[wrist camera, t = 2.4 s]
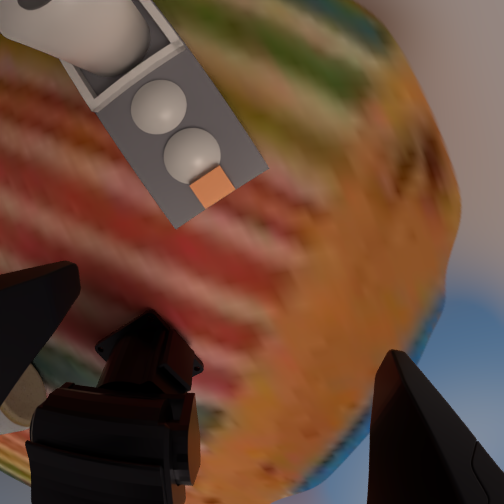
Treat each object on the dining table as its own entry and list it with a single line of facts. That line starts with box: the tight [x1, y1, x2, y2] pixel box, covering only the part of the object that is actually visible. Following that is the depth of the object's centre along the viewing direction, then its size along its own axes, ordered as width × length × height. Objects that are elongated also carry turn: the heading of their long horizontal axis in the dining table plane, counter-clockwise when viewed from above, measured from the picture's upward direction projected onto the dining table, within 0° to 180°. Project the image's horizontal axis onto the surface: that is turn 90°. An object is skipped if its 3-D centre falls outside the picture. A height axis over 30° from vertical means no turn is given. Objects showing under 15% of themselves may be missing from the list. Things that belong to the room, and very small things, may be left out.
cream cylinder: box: [0, 0, 151, 77], centre depth 10 cm, size 4×4×9 cm
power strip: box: [59, 0, 269, 229], centre depth 16 cm, size 15×6×2 cm, turn 32°
